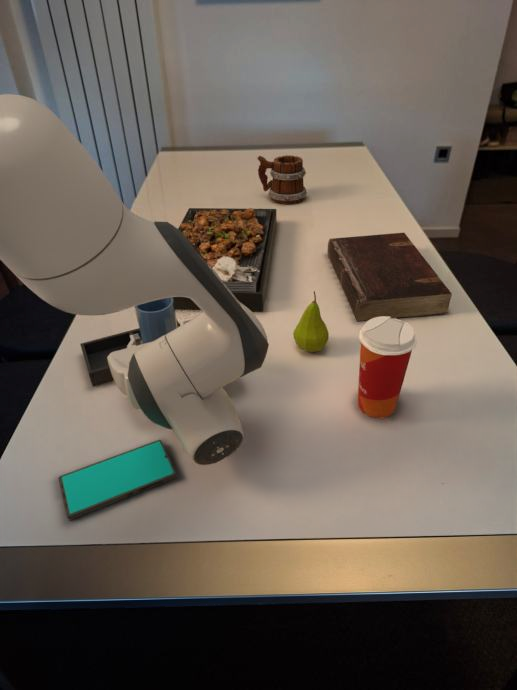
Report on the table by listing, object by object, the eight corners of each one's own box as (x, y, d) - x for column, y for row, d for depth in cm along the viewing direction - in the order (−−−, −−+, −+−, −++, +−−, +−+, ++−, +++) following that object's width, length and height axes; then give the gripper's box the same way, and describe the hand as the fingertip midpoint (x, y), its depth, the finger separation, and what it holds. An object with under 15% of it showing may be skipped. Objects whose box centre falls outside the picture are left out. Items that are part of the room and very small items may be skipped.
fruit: (300, 361, 90) (301, 305, 83) (289, 342, 95) (290, 287, 88) (333, 354, 91) (337, 299, 84) (320, 336, 96) (324, 282, 89)
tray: (92, 387, 86) (88, 373, 84) (84, 356, 93) (80, 343, 91) (193, 357, 92) (191, 344, 90) (178, 331, 99) (176, 318, 97)
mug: (310, 204, 149) (302, 154, 140) (263, 212, 151) (253, 163, 143) (309, 190, 158) (302, 142, 150) (265, 198, 161) (256, 151, 152)
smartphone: (57, 476, 69) (160, 439, 74) (59, 480, 70) (161, 442, 75) (66, 517, 64) (176, 474, 69) (68, 521, 65) (177, 478, 70)
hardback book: (327, 256, 123) (328, 237, 120) (401, 251, 124) (404, 232, 121) (355, 321, 100) (358, 300, 97) (446, 314, 101) (451, 293, 98)
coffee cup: (364, 381, 85) (374, 308, 76) (410, 400, 81) (426, 325, 72) (341, 410, 80) (349, 335, 71) (389, 431, 76) (404, 354, 67)
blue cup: (149, 362, 90) (139, 316, 84) (139, 342, 95) (130, 297, 89) (184, 351, 92) (178, 306, 86) (173, 332, 97) (166, 288, 91)
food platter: (262, 311, 103) (261, 268, 97) (148, 308, 105) (139, 265, 99) (276, 223, 139) (276, 187, 133) (190, 222, 141) (186, 187, 135)
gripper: (246, 343, 77) (216, 301, 87) (114, 380, 71) (98, 330, 81) (248, 374, 81) (219, 330, 91) (122, 412, 74) (106, 360, 85)
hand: (161, 330), depth 86 cm, fingers open, 8 cm apart
